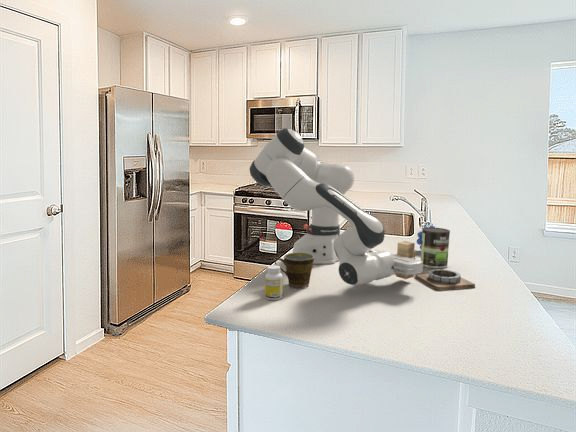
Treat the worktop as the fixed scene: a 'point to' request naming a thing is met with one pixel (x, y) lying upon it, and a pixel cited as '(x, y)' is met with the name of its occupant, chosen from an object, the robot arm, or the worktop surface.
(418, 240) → the grapes
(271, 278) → the supplement bottle
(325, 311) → the worktop surface
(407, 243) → the oak post
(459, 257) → the worktop surface
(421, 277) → the walnut board
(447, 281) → the grey stone ring
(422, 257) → the coffee can
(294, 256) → the ceramic cup
